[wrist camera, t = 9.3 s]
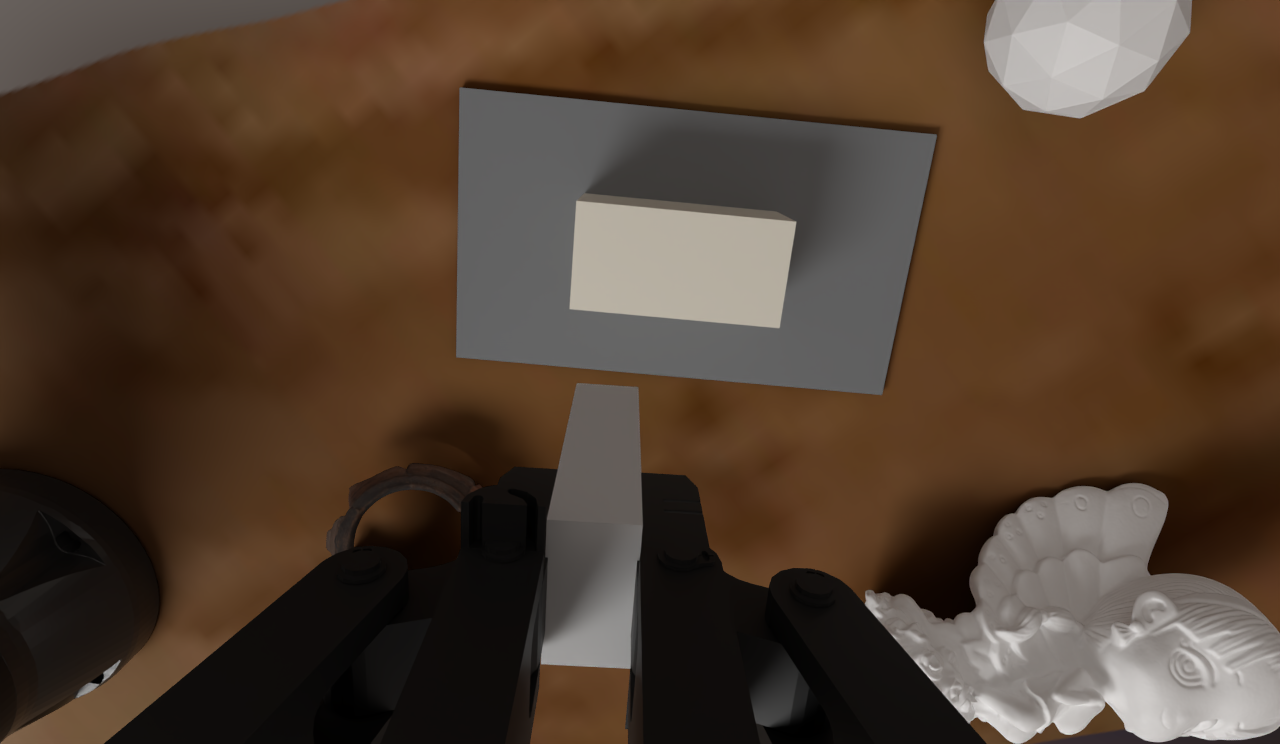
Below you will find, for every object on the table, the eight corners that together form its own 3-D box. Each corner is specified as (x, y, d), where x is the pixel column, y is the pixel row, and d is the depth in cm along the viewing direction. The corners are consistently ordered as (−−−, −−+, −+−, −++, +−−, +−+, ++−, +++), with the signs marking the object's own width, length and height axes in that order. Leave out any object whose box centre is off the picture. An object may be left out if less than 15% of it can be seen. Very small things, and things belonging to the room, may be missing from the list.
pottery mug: (312, 520, 44) (278, 526, 36) (446, 434, 46) (442, 423, 38) (420, 682, 44) (411, 724, 36) (548, 586, 46) (565, 606, 38)
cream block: (569, 309, 33) (780, 328, 34) (576, 200, 32) (798, 221, 32) (578, 288, 38) (763, 305, 38) (584, 193, 36) (777, 211, 37)
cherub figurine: (883, 639, 33) (1371, 588, 30) (841, 510, 45) (1187, 462, 41) (913, 849, 37) (1352, 825, 33) (867, 678, 48) (1188, 647, 45)
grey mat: (457, 355, 40) (456, 357, 39) (461, 87, 35) (459, 87, 35) (879, 392, 40) (882, 395, 40) (934, 134, 36) (937, 134, 36)
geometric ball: (973, 69, 38) (927, 75, 32) (1078, -101, 33) (1046, -130, 27) (1109, 140, 35) (1085, 160, 29) (1244, -33, 30) (1249, -50, 24)
